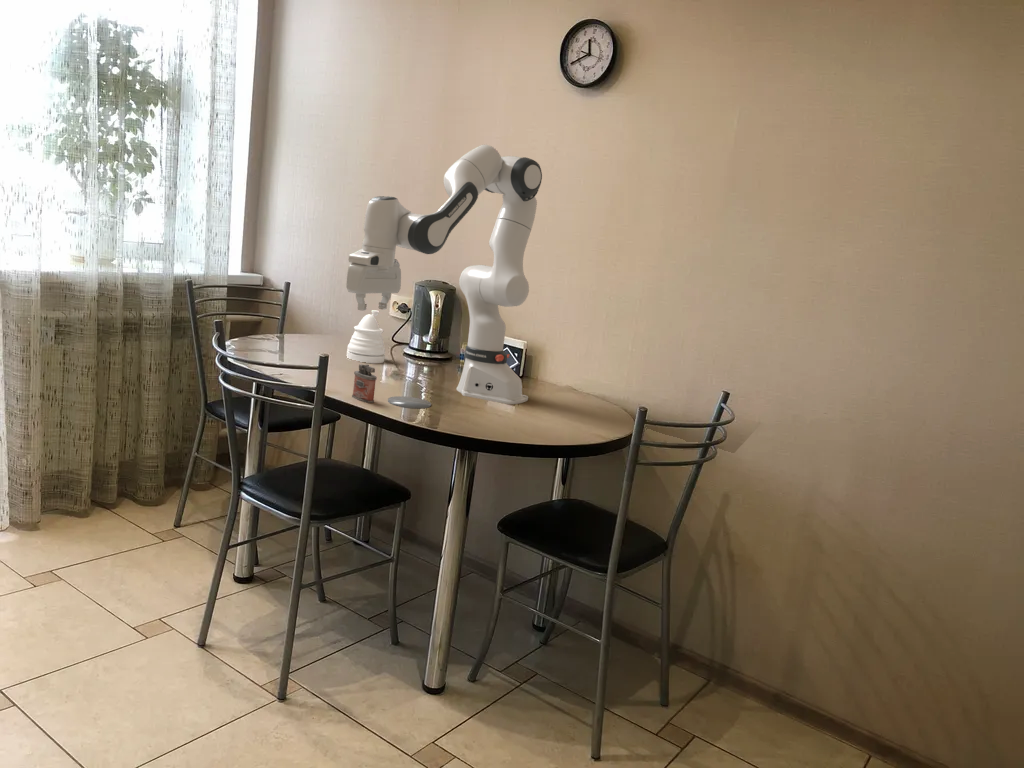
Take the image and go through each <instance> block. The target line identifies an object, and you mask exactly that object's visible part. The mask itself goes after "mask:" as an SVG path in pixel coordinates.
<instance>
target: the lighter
mask: <svg viewBox="0 0 1024 768" xmlns="http://www.w3.org/2000/svg"><path fill="white" fill-rule="evenodd" d="M375 372H376V368H375V367H374V366H370V365H369V363H365V364H363V363H360V364H358V370H354V380H353V390H352V395H351V398H353V399H355V400H357V401H360V402H362V403H363V402H364V403H368V404H373V403H375V399H374V398H375V390H376V381H377V377H378V376H377V375H375V374H372V373H375Z"/></svg>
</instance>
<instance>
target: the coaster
mask: <svg viewBox="0 0 1024 768" xmlns="http://www.w3.org/2000/svg"><path fill="white" fill-rule="evenodd" d="M387 402H388V403H389V404H390V405H392V406H396V407H400V408H406V409H417V410H418V409H427V408H430V407H431V406H432V402H431V401H428V400H426V399H424V398H419V397H415V396H405V395H404V396H403V395H401V396H400V395H398V396H390V397H388V398H387Z"/></svg>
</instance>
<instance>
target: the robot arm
mask: <svg viewBox="0 0 1024 768" xmlns="http://www.w3.org/2000/svg"><path fill="white" fill-rule="evenodd" d="M542 179H543V173H542V168H541V166H540V164H539V162H537V161H536V160H534V159H532V158H528V157H523V156H522V157H520V156H514V155H507V156H505V155H503V156H501V154H500V152H499V151H498V150H497V149H496V148H495V147H494V146H492V145H490V144H481V145H478V146H477V147H475V148H472V149H470V150H469V151H467V152H466V153H465V154H463V155H462V156H461V157H460V158H458V159H457V160H456V161H455V162H454V163H452V164H451V165H450V167H448V169H447V170H446V171H445V173H444V175H443V186H444V190H445V192H446V194H447V195H448V197H449V198H448V199H446V201H445V202H444V203H443V204H442V205H441V206H440V207H439V209H437V211H435V212H433V213H428V214H422V213H420V214H419V213H415V212H412V211H410V210H408V209H407V208H406V207H405V206H404V205H402V203H401V202H400V201H399V199H398V198H397V197H394V196H389V195H388V196H380V195H379V196H374V197H372V198H370V200H369V201H368V203H367V205H366V209H365V214H364V223H363V233H364V237H363V240H362V243H361V248H360V249H358V250H357V251H354V252H353V253H350V254H349V255H348V263H350V264H349V266H348V268H347V273H346V283H345V285H346V289H347V291H348V293H352V294H355V299H356V301H357V310H358V311H364V312H365V311H366V310H367V304H368V303H366V302H365V298H366V296H367V294H381V296H382V297H381V300H380V301H379V302H378V309H380V310H388V309H387V308H388V303H389V301H390V300H391V297H392V294H398V293H399V292H400V290H401V286H402V285H401V284H402V271H401V267H400V266H401V265H400V262H399V261H398V259H396V249H397V248H396V247H399V248H403V249H406V250H410V251H411V250H412V251H415V252H416V251H417V252H418V253H421V254H424V255H432V254H433V255H434V254H436V253H437V252H439V251H440V250H442V248H443V246H444V245H445V244H446V242H447V240H448V238H449V236H450V234H451V233H452V231H453V230H454V228H455V227H457V225H458V224H459V223H460V222H461V221H462V220H463V218H464V217H465V216H466V215H467V214H468V213H469V212H470V211H471V209H472V208H473V207H474V206H475V204H476V202H477V200H478V199H479V195H480V194H481V193H482V192H484V191H486V192H488V193H492V194H499V195H502V205H501V207H500V208H499V211H498V215H497V217H496V219H495V223H494V226H493V229H492V231H491V235H490V238H489V243H488V244H489V247H490V250H491V251H492V253H493V263H492V266H491V265H486V264H485V265H484V264H475V265H469V266H467V267H465V268H464V269H463V270H462V272H461V274H460V276H459V280H458V283H459V289H460V291H461V292H462V294H463V295H464V297H465V300H466V303H467V307H468V308H467V309H468V314H469V315H468V316H469V329H468V336H467V337H468V339H467V344H466V346H465V350H464V358H463V364H464V365H463V368H462V373H461V376H460V378H459V379H460V380H459V382H458V385H457V386H456V391H457V392H459V393H460V394H461V395H462V396H463V397H469V398H473V399H478V400H479V399H480V400H483V401H484V400H485V401H490V402H496V403H501V404H506V405H516V404H517V405H518V404H522V403H524V402H528V400H529V396H528V395H525V394H524V393H523V383H522V379H521V378H520V377H519V376H518V375H517V374H516V373H515V371H514V370H513V369H512V367H510V366H509V365H508V363H507V361H508V359H509V358H510V355H511V354H509V353H508V354H507V353H506V352H505V351H504V346H505V337H506V330H507V329H506V328H507V327H506V323H505V321H504V319H503V318H502V317H501V314H500V311H499V306H500V307H504V308H507V307H509V308H510V307H511V308H513V307H518V306H521V305H522V304H523V303H525V302H526V300H527V298H528V296H529V292H530V286H529V285H530V284H529V281H528V279H527V278H526V275H525V272H524V255H525V251H526V248H527V244H528V241H529V239H530V236H531V232H532V228H533V226H534V221H535V218H536V212H537V205H538V202H537V201H538V200H537V198H536V196H537V194H538V192H539V189H540V187H541V184H542Z"/></svg>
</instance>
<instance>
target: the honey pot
mask: <svg viewBox="0 0 1024 768" xmlns="http://www.w3.org/2000/svg"><path fill="white" fill-rule="evenodd" d="M379 313H380V311H379V310H375V309H372V310H371V314H370V313H369V314H368V313H367V314H365V315H364V316H363V317H362V318H361V320H360V321H359V323H358V324H357V325H354V326H353V329H354V332H353V335H351V338H350V340H349V343H348V344H347V349H346V356H347V358H349V359H352V360H356V361H360V362H359V363H362V362H366V363H365V364H382V363H384V362H385V357H386V355H385V354H386V347H385V343H384V338H383V335H382V333H383V332H384V329H383V328H380V325H379V322H378V321H377V318H376V317H377V316H378V315H379ZM347 358H346V359H347ZM349 359H348V360H349ZM356 361H355V362H356Z"/></svg>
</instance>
